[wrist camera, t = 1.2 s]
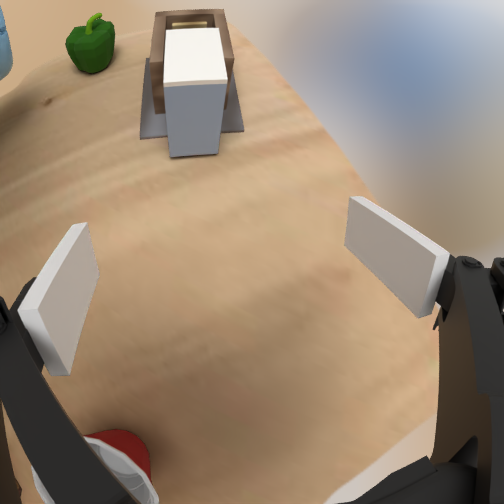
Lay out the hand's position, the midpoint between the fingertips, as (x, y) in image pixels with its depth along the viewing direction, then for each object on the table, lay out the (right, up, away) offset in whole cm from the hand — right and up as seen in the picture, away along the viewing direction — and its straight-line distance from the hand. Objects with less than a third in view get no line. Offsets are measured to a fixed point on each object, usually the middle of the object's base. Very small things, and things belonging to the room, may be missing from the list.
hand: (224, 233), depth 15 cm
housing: (-8, +22, +27) cm, 36 cm away
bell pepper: (-25, +31, +27) cm, 48 cm away
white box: (-7, +16, +24) cm, 30 cm away
